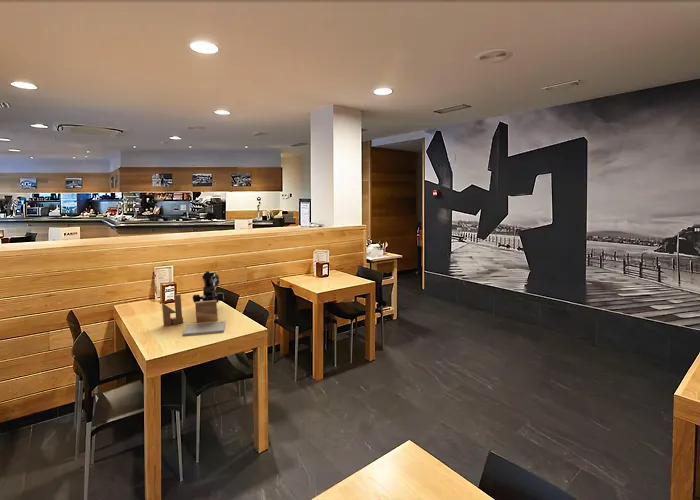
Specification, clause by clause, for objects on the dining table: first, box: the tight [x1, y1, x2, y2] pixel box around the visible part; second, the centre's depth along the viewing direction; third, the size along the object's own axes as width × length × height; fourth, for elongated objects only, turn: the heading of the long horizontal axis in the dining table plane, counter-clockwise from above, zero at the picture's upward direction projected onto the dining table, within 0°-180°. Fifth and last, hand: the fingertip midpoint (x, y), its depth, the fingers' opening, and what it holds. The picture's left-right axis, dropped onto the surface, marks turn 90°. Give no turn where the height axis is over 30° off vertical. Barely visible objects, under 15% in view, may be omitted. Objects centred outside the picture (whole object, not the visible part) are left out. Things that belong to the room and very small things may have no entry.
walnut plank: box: [195, 300, 219, 323], centre depth 245 cm, size 3×12×14 cm, turn 104°
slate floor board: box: [182, 320, 227, 337], centre depth 236 cm, size 18×22×1 cm
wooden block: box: [161, 293, 184, 327], centre depth 245 cm, size 4×11×18 cm, turn 127°
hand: (208, 309), depth 254 cm, fingers closed
